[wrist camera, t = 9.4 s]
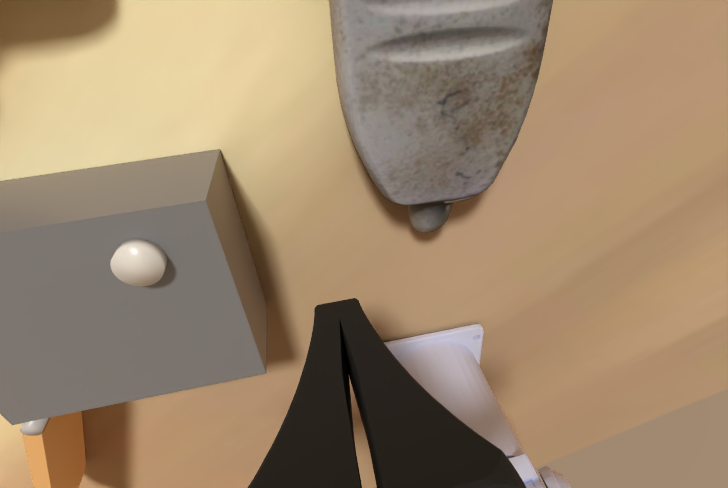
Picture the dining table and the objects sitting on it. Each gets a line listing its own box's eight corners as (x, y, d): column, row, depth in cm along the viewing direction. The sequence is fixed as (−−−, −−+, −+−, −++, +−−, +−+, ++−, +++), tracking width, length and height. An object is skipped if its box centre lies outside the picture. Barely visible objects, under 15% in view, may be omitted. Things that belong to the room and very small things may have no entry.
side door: (62, 467, 29) (31, 540, 25) (46, 350, 23) (2, 424, 19) (87, 466, 30) (60, 538, 26) (77, 352, 24) (41, 425, 20)
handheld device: (336, 228, 23) (348, 280, 19) (258, -376, 11) (250, -545, 8) (498, 203, 24) (541, 247, 20) (577, -374, 12) (710, -522, 9)
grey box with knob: (267, 306, 25) (265, 383, 20) (31, 350, 23) (-28, 443, 19) (219, 149, 19) (203, 208, 14) (-98, 195, 18) (-227, 276, 13)
